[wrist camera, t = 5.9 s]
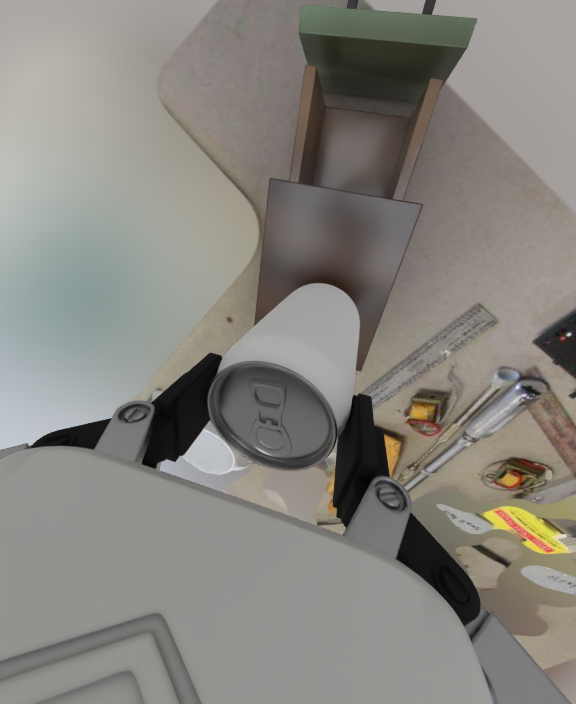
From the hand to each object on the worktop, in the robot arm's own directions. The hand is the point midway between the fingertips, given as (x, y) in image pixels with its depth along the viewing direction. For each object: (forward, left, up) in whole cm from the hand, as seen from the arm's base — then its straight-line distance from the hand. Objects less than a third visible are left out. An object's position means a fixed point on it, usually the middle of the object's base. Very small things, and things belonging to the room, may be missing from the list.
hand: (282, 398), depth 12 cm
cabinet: (-3, 0, -22) cm, 22 cm away
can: (-1, +1, -10) cm, 10 cm away
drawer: (-15, 0, -21) cm, 26 cm away
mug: (+22, -9, -22) cm, 33 cm away
